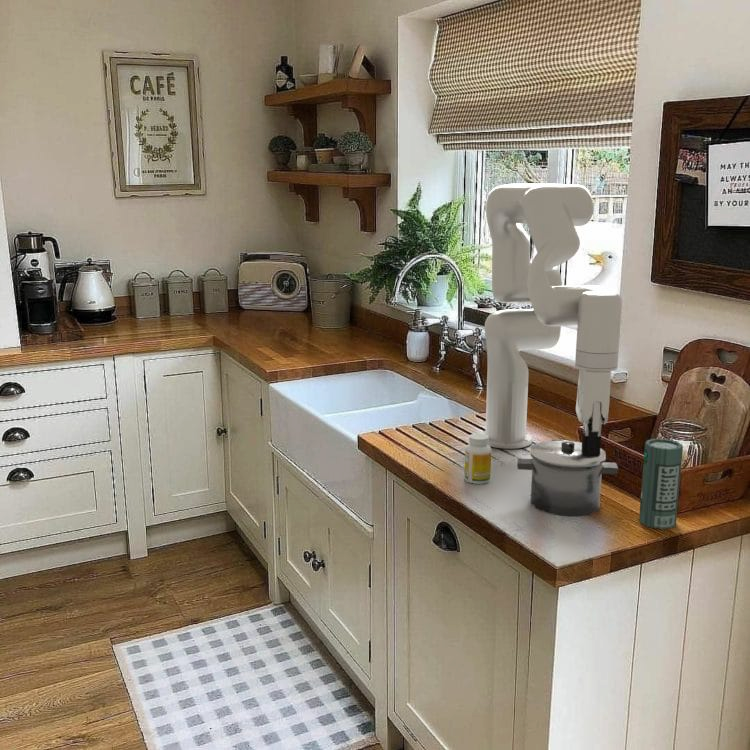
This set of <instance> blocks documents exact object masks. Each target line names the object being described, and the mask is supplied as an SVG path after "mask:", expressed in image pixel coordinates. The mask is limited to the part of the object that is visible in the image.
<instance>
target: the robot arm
mask: <svg viewBox="0 0 750 750" xmlns="http://www.w3.org/2000/svg"><path fill="white" fill-rule="evenodd" d="M485 206H486V207H485V217H486V222H487V227H488V229H489V234H490V237H491V247H492V253H491V291H492V295H493V298H494V299H495V301H496V302H499V303H502V304H531V306H532V308H509V309H508V308H507V309H500V310H495V311H493V312H492V313H490V314H489V315H488V316H487V318H486V319H485V322H484V337H485V343H486V344H485V345H486V352H487V353H486V356H487V358H486V359H487V374H486V375H487V376H486V377H487V378H486V379H487V380H486V404H485V406H486V409H485V430H483V431H482V432H480V434H486V435H488V436H489V443H488V444H487V445H489V446H490V447H492V448H496V449H505V450H506V449H507V450H508V449H510V450H511V449H512V450H513V449H521V448H525V447H528V446H530V445H531V444H532V443H533V436H532V435H531V434H530V433H528V432H527V415H528V414H527V413H528V393H529V367H528V364H527V363H526V361H525V360H524V359H523V358H522V356H521V355H520V352H521V351H531V350H545V349H546V350H547V349H551V348H554V347H555V346H556V345H557V344H558V342H559V340H560V337H561V330H562V329H561V328H562V327H568V326H577V327H576V342H575V343H576V344H575V345H576V346H575V364H574V367H575V368H576V369H578V370H579V373H578V382H577V391H576V392H577V393H576V401H575V402H576V404H575V412H576V416H577V418H578V421H579V422H580V423H581V424H583V433H582V438H581V439H582V440H581V443H582V455H583V456H595V457H599V456H600V448H601V445H602V444H601V443H602V435H601V434H602V433H601V432H602V424H603V425H605V424H606V423H608V420H609V411H610V410H609V408H610V395H611V378H612V372H614V371H617V370H618V365H619V350H620V337H621V335H620V334H621V323H622V307H623V306H622V305H623V299H622V297H621V295H620V294H618V293H616V292H614V291H608V290H607V289H605V288H604V287H603V286H600V285H596V284H595V285H594V284H593V285H591V284H587V285H580V284H579V285H563V279H562V276H561V273H560V270H559V267H558V266H561V265H562V264H564V263H566V262H567V261H569V260H571V259H572V258H573V257H574V256H575V255H576V254H577V253H578V251H579V249H580V245H581V240H580V237H579V235H578V232H577V230H576V228H575V227H578V226H579V227H582V226H584V225H586V224H588V223H590V220H592V219H591V218H592V217H593V215H594V200H593V197H592V195H591V193H590V191H589V190H588V189H587V188H586V187H585V186H583V185H581V184H563V183H509V184H503V185H502V184H501V185H499V186H496V187H494V188H493V189H492V190H491V191H490V192H489V194H488V196H487V200H486V204H485ZM521 224H526V226H527V227H528V230H529V233H530V235H531V239H532V242H533V244H534V248H535V250H536V255H535V256H534V257H533V259H532V260H531V240H530V238H529V235H528V234H527V232H526V231H525V230H524V228H523V226H522V225H521Z"/></svg>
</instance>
